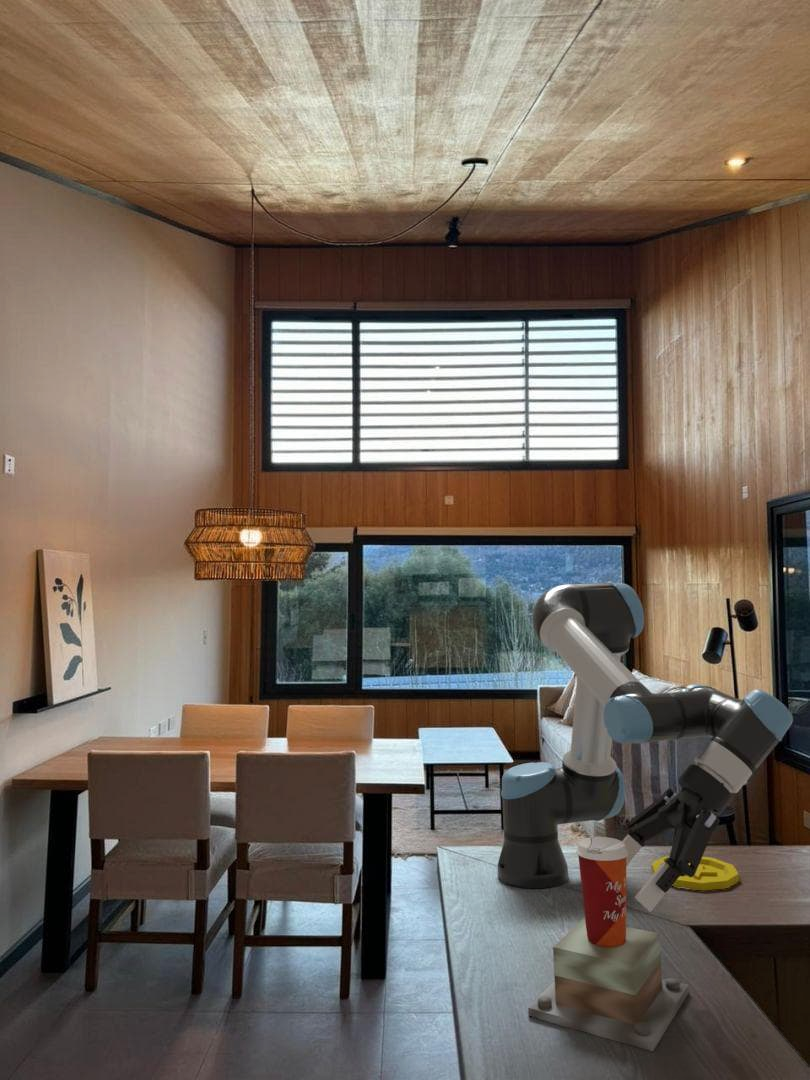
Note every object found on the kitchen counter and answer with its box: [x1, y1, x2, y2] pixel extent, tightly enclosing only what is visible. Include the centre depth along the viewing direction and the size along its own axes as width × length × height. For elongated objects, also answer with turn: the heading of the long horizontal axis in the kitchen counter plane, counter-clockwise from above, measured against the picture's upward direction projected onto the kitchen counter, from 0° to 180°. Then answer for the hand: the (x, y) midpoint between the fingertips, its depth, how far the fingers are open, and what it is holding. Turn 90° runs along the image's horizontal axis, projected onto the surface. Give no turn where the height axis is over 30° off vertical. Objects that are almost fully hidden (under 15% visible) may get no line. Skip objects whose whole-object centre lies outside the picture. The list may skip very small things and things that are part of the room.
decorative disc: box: [651, 855, 740, 891], centre depth 169 cm, size 17×18×2 cm
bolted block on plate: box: [527, 917, 690, 1052], centre depth 118 cm, size 18×18×9 cm
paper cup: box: [575, 836, 628, 947], centre depth 120 cm, size 8×8×14 cm
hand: (624, 888), depth 119 cm, fingers open, 13 cm apart
